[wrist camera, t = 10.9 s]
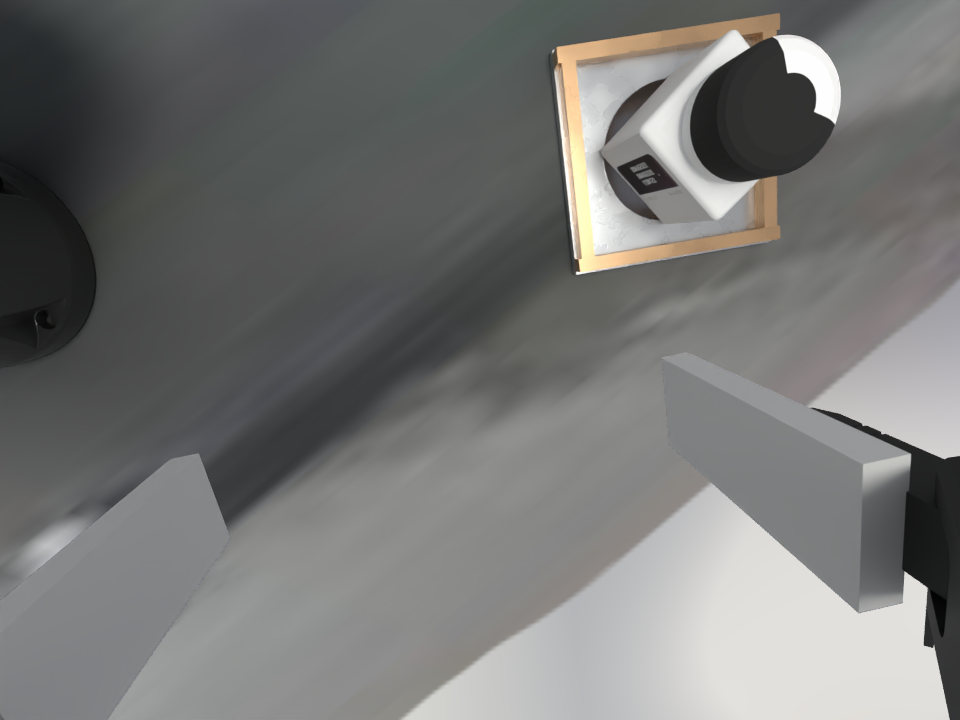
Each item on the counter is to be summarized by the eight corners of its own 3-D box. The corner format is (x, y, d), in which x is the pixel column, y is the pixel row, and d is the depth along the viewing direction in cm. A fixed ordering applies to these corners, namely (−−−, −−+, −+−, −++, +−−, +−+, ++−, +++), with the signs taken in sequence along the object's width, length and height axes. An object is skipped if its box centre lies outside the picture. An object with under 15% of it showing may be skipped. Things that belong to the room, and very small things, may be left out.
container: (663, 226, 37) (776, 218, 25) (597, 152, 36) (682, 104, 23) (737, 150, 36) (894, 101, 24) (673, 70, 35) (804, -27, 22)
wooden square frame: (573, 273, 39) (580, 275, 37) (549, 55, 35) (555, 43, 33) (761, 241, 39) (780, 241, 37) (759, 23, 35) (779, 9, 33)
